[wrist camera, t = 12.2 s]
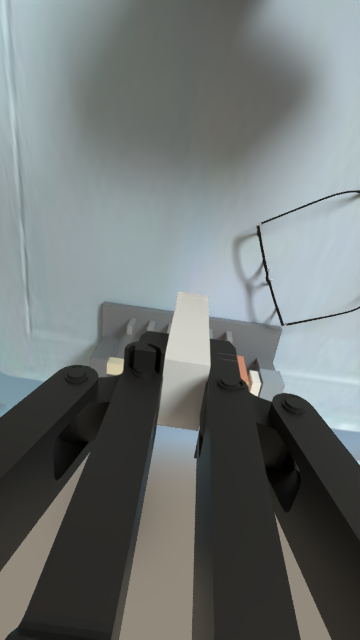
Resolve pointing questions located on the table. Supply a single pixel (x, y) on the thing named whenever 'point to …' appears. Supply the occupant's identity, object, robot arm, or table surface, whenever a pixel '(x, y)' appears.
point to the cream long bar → (258, 382)
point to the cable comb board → (134, 321)
